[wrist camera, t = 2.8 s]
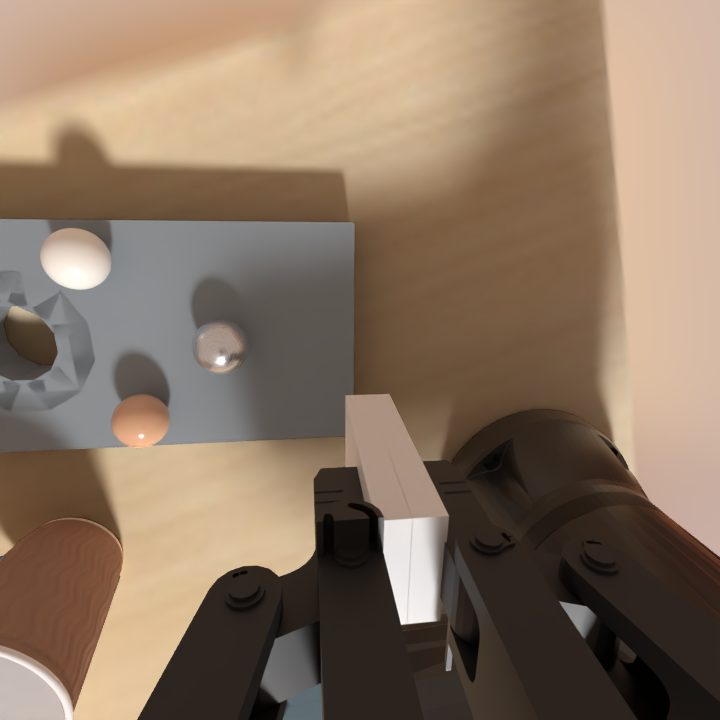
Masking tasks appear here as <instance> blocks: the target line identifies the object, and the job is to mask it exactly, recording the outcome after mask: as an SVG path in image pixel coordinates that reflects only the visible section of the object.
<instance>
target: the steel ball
mask: <svg viewBox="0 0 720 720" xmlns="http://www.w3.org/2000/svg"><path fill="white" fill-rule="evenodd" d="M248 352H249V342H248V338H247V336H246V334H245V332H244V331H243V330H242V328H241V327H240V326H238V325H237V324H235V323H234V322H231V321H228V320H224V319H217V320H211V321H209V322H207V323H205V324H203V325H202V326H201V327H200V328H199V329H198V330H197V331H196V333H195V334H194V336H193V339H192V354H193V356H194V359H195V360H196V362H197V363H198V364H199V366H201V367H202V368H203V369H204V370H206V371H208V372H211V373H214V374H226V373H230V372H233V371H235V370H236V369H238V368H239V367H240V366H241V365H242V364H243V363H244V362H245V360H246V358H247V356H248Z"/></svg>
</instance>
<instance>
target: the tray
mask: <svg viewBox="0 0 720 720" xmlns="http://www.w3.org/2000/svg"><path fill="white" fill-rule="evenodd" d="M65 228H78V229H83V230H86V231H89V232H91V233H93V234H94V235H96V236H97V237H99V238H100V239H101V240H102V241H103V242H104V243H105V245H106V246H107V248H108V250H109V252H110V255H111V260H112V265H111V270H110V273H109V275H108V276H107V278H106V279H105V280H104V281H103V282H102V283H101V284H99V285H97V286H95V287H93V288H90V289H85V290H76V289H70V288H67V287H64V286H62V285H60V284H58V283H56V282H55V281H54V280H52V279H51V278H50V277H49V276H48V275H47V273H46V272H45V270H44V269H43V266H42V264H41V260H40V251H41V247H42V244H43V242H44V241H45V240H46V238H47V237H48V236H49V235H51V234H52V233H54V232H56V231H58V230H61V229H65ZM354 254H355V222H284V221H175V220H66V219H0V453H5V452H26V451H47V450H68V449H89V448H110V447H130V446H127V445H125V444H123V443H121V442H120V441H119V440H118V439H117V438H116V437H115V435H114V433H113V431H112V427H111V418H112V414H113V412H114V410H115V408H116V407H117V406H118V404H119V403H121V402H122V401H123V400H124V399H126V398H128V397H130V396H133V395H138V394H147V395H151V396H154V397H156V398H158V399H160V400H161V401H162V402H163V403H164V404H165V405H166V406H167V408H168V410H169V413H170V426H169V429H168V431H167V433H166V434H165V436H164V437H163V438H162V439H161V440H160V441H159V442H157V443H156V444H154V445H173V444H194V443H214V442H235V441H256V440H277V439H298V438H319V437H340V436H345V395H354ZM11 306H18V307H20V308H23V309H25V310H27V311H29V312H31V313H33V314H36V315H38V316H40V318H41V319H42V320H43V321H44V322H45V324H46V325H47V326H48V327H49V328H50V329H51V331H52V332H53V333H54V336H55V341H56V346H57V351H58V354H57V357H56V359H55V361H54V363H53V365H39V364H36V363H34V362H32V361H30V360H27V359H25V358H23V357H21V356H20V355H19V354H18V353H17V352H16V350H15V349H14V348H13V347H12V346H11V345H10V344H9V343H8V341H7V336H6V332H5V328H4V324H3V323H4V321H5V318H6V316H7V313H8V311H9V308H10V307H11ZM217 319H224V320H228V321H231V322H234V323H235V324H237V325H238V326H240V327H241V328H242V330H243V331H244V332H245V334H246V336H247V338H248V342H249V352H248V356H247V358H246V360H245V362H244V363H243V364H242V365H241V366H240V367H239V368H238V369H236V370H235V371H233V372H230V373H226V374H214V373H211V372H208V371H206V370H204V369H203V368H202V367H201V366H199V364H198V363H197V362H196V360H195V359H194V356H193V354H192V339H193V336H194V334H195V333H196V331H197V330H198V329H199V328H200V327H201V326H202V325H203V324H205V323H207V322H209V321H211V320H217ZM151 446H152V445H151Z"/></svg>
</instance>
